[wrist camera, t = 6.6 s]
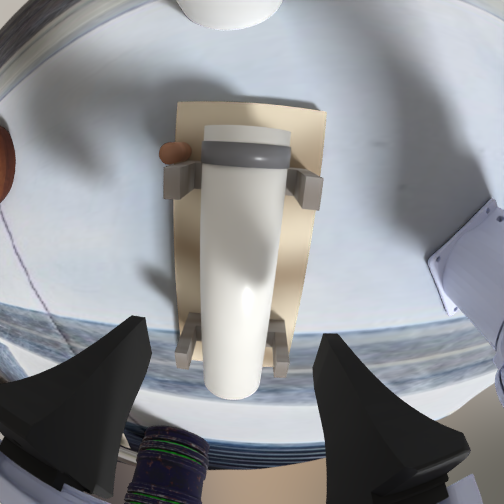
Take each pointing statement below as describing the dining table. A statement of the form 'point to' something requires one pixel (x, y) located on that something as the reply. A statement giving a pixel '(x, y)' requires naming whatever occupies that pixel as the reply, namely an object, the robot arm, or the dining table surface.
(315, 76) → the dining table surface
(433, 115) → the dining table surface
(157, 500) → the storage jar
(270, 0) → the cylindrical container
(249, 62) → the dining table surface
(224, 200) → the tube
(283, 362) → the tube stand
